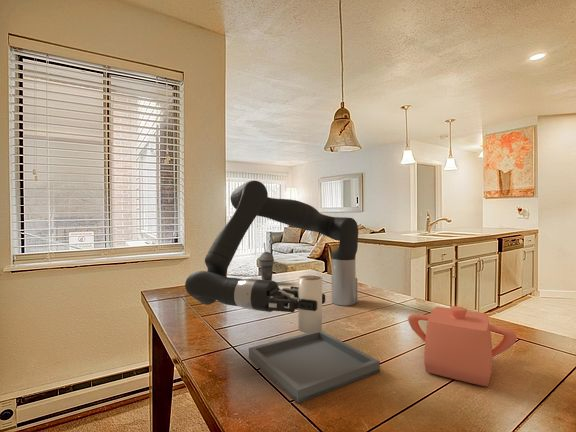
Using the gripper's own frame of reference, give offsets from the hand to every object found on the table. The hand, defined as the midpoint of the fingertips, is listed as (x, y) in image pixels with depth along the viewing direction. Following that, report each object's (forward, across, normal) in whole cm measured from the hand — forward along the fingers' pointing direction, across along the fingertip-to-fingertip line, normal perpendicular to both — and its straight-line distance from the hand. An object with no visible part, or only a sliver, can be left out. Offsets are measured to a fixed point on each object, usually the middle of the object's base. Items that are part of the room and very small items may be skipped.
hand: (320, 302), depth 74 cm
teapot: (+30, +14, +15) cm, 36 cm away
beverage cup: (-50, +70, +15) cm, 87 cm away
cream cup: (-3, 0, +6) cm, 7 cm away
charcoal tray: (-2, 0, +15) cm, 15 cm away
